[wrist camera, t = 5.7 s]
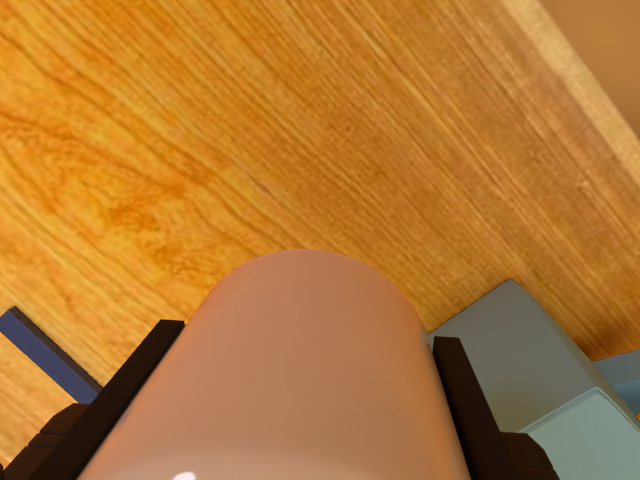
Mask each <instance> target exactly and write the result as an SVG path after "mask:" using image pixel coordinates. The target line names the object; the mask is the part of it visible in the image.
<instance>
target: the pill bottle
mask: <svg viewBox="0 0 640 480" xmlns="http://www.w3.org/2000/svg"><path fill="white" fill-rule="evenodd" d="M76 480H471V477H470V474H469V471H468V468H467V464H466V461H465V458H464V455H463V451H462V448H461V445H460V442H459V438H458V435H457V432H456V429H455V425H454V422H453V419H452V416H451V412H450V409H449V406H448V403H447V399H446V396H445V393H444V390H443V386H442V383H441V380H440V377H439V373H438V370H437V367H436V364H435V360H434V357H433V354H432V351H431V347H430V344H429V341H428V338H427V334H426V331H425V328H424V325H423V323H422V321H421V319H420V317H419V315H418V313H417V312H416V310H415V308H414V306H413V304H412V303H411V302H410V300H409V299H408V298H407V297H406V296H405V294H404V293H403V292H402V291H401V290H400V288H399V287H398V286H397V285H396V284H395V283H393V282H392V281H391V280H389V279H388V278H387V277H386V276H384V275H383V274H382V273H381V272H379V271H378V270H376V269H375V268H373V267H371V266H369V265H367V264H365V263H363V262H361V261H359V260H357V259H355V258H352V257H348V256H345V255H342V254H338V253H335V252H332V251H324V250H314V249H294V250H282V251H277V252H273V253H270V254H266V255H263V256H259V257H256V258H254V259H252V260H250V261H248V262H246V263H244V264H242V265H240V266H238V267H236V268H235V269H233V270H232V271H231V272H230V273H228V274H227V275H226V276H225V277H223V278H222V279H221V280H220V281H218V282H217V283H216V284H215V286H214V287H213V288H212V289H211V291H210V292H209V293H208V294H207V296H206V297H205V298H204V299H203V301H202V302H201V303H200V305H199V306H198V308H197V309H196V310H195V312H194V313H193V315H192V316H191V317H190V319H189V320H188V322H187V323H186V325H185V326H184V327H183V329H182V330H181V332H180V333H179V334H178V336H177V337H176V339H175V340H174V341H173V343H172V344H171V346H170V347H169V349H168V350H167V351H166V353H165V354H164V356H163V357H162V358H161V360H160V361H159V363H158V364H157V366H156V367H155V368H154V370H153V371H152V373H151V374H150V375H149V377H148V378H147V380H146V381H145V382H144V384H143V385H142V387H141V388H140V390H139V391H138V392H137V394H136V395H135V397H134V398H133V399H132V401H131V402H130V404H129V405H128V406H127V408H126V409H125V411H124V412H123V414H122V415H121V416H120V418H119V419H118V421H117V422H116V423H115V425H114V426H113V428H112V429H111V430H110V432H109V433H108V435H107V436H106V438H105V439H104V440H103V442H102V443H101V445H100V446H99V447H98V449H97V450H96V452H95V453H94V454H93V456H92V457H91V459H90V460H89V462H88V463H87V464H86V466H85V467H84V469H83V470H82V471H81V473H80V474H79V476H78V477H77V478H76Z"/></svg>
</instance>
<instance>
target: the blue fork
mask: <svg viewBox="0 0 640 480" xmlns="http://www.w3.org/2000/svg"><path fill="white" fill-rule="evenodd" d="M0 332H1V333H2V334H4V335H5V336H6V337H7V338H8V339H9V340H10V341H11V342H12V343H13V344H15V345H16V346H17V347H18V348H19V349H20V350H21V351H22V352H23V353H24V354H26V355H27V356H28V357H29V358H30V359H31V360H32V361H33V362H34V363H35V364H37V365H38V366H39V367H40V368H41V369H42V370H43V371H44V372H45V373H46V374H48V375H49V376H50V377H51V378H52V379H53V380H54V381H55V382H56V383H57V384H59V385H60V386H61V387H62V388H63V389H64V390H65V391H66V392H67V393H68V394H70V395H71V396H72V397H73V398H74V399H75V400H76V401H77V402H78V403H79V404H91V402H92V401H93V400H94V399H95V398H96V396H97V395H98V394H99V393H100V392H101V390H102V389H103V388H102V387H101V386H100V385H99V384H98V383H97V382H96V381H94V380H93V379H92V378H91V377H90V376H89V375H88V374H87V373H86V372H85V371H84V370H83V369H82V368H80V367H79V366H78V365H77V364H76V363H75V362H74V361H73V360H72V359H71V358H70V357H69V356H68V355H66V354H65V353H64V352H63V351H62V350H61V349H60V348H59V347H58V346H57V345H56V344H55V343H54V342H52V341H51V340H50V339H49V338H48V337H47V336H46V335H45V334H44V333H43V332H42V331H41V330H40V329H38V328H37V327H36V326H35V325H34V324H33V323H32V322H31V321H30V320H29V319H28V318H27V317H26V316H24V315H23V314H22V313H21V312H20V311H19V310H18V309H17V308H16V307H15V306H14V307H12V308H11V309H9V310H8V311H7V312H5V313H4V314H3V315H2V316H1V317H0Z"/></svg>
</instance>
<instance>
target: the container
mask: <svg viewBox="0 0 640 480" xmlns="http://www.w3.org/2000/svg"><path fill="white" fill-rule="evenodd" d="M434 336H444V337H459V338H460V341H461V343H462V345H463V348H464V350H465V352H466V354H467V357H468V359H469V361H470V364H471V366H472V368H473V370H474V373H475V375H476V377H477V380H478V382H479V384H480V386H481V389H482V391H483V393H484V396H485V398H486V400H487V403H488V405H489V407H490V409H491V412H492V414H493V416H494V419H495V421H496V423H497V425H498V428H499V430H500V431H501V432H515V433H527V434H528V435H529V436H530V437H531V438H533V439H534V440H535V441H536V442H537V443H538V444H539V445H540V446H541V447H542V448H543V449H544V450H545V452H546V454H547V456H548V458H549V460H550V462H551V463H552V465H553V470H555V471H556V473H557V475H558V476H559V478H560V480H640V420H639V419H638V418H637V416H636V414H640V349H639V350H636V351H632V352H628V353H624V354H621V355H617V356H613V357H610V358H606V359H602V360H598V361H595V362H591V360H590V359H589V358H588V357H587V356H586V355H585V354H584V352H583V351H582V350H581V349H580V348H579V347H578V345H577V344H576V343H575V342H574V341H573V340H572V339H571V338H570V336H569V335H568V334H567V333H566V332H565V331H564V330H563V329H562V328H561V326H560V325H559V324H558V323H557V322H556V321H555V320H554V319H553V318H552V317H551V315H550V314H549V313H548V312H547V311H546V310H545V309H544V308H543V307H542V306H541V305H540V304H539V303H538V302H537V301H536V300H535V299H534V298H533V297H532V296H531V295H530V294H529V293H528V292H527V291H526V290H525V289H524V288H523V287H521V286H520V285H519V284H518V283H516V282H515V281H513V280H511V279H509V280H508V281H506V282H504V283H503V284H501V285H500V286H498V287H497V288H495V289H494V290H492V291H491V292H489V293H488V294H486V295H485V296H483V297H482V298H480V299H479V300H477V301H476V302H475V303H473V304H472V305H470V306H469V307H467V308H466V309H464V310H463V311H462V312H460V313H459V314H457V315H456V316H454V317H453V318H451V319H450V320H449V321H447V322H446V323H444V324H443V325H441V326H440V327H439V328H437V329H436V330H434V331H433V332H431V333H430V334H429V335H427V338H428V341H429V344H430V347H431V351H432V349H433V340H434Z"/></svg>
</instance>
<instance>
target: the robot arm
mask: <svg viewBox="0 0 640 480" xmlns="http://www.w3.org/2000/svg"><path fill="white" fill-rule="evenodd" d="M184 326H185V324H184V321H178V320H160V321H159V322H158V323H157V324H156V326H155V327H154V328H153V329H152V330H151V332H150V333H149V334H148V335H147V336H146V338H145V339H144V340H143V341H142V342H141V344H140V345H139V346H138V347H137V348H136V350H135V351H134V352H133V353H132V354H131V356H130V357H129V358H128V359H127V360H126V362H125V363H124V364H123V365H122V366H121V368H120V369H119V370H118V371H117V372H116V374H115V375H114V376H113V377H112V378H111V380H110V381H109V382H108V383H107V384H106V386H105V387H104V388H103V389H102V390H101V392H100V393H99V394H98V395H97V396H96V398H95V399H94V400H93V401H92V402H91V404H78V403H73V404H71V405H70V406H68V407H67V408H65V409H63V410H62V411H60V412H59V413H57V414H56V415H54V416H53V417H52V418H51V419H50V420H49V421H48V422H47V424H46V425H45V426H44V427H43V428H42V429H41V430H40V433H39V434H36V436H35V437H34V438H33V439H32V440H31V441H30V442H29V444H28V446H25V448H24V449H23V450H22V451H21V452H20V453H19V454H18V455H17V456H16V457H15V458H14V460H13V461H12V462H11V463H10V464H9V465H8V466H7V467H6V468H5V470H3V466H2V465H1V463H0V480H76V478H77V477H78V476H79V474H80V473H81V471H82V470H83V469H84V467H85V466H86V464H87V463H88V462H89V460H90V459H91V457H92V456H93V454H94V453H95V452H96V450H97V449H98V447H99V446H100V445H101V443H102V442H103V440H104V439H105V438H106V436H107V435H108V433H109V432H110V430H111V429H112V428H113V426H114V425H115V423H116V422H117V421H118V419H119V418H120V416H121V415H122V414H123V412H124V411H125V409H126V408H127V406H128V405H129V404H130V402H131V401H132V399H133V398H134V397H135V395H136V394H137V392H138V391H139V390H140V388H141V387H142V385H143V384H144V382H145V381H146V380H147V378H148V377H149V375H150V374H151V373H152V371H153V370H154V368H155V367H156V366H157V364H158V363H159V361H160V360H161V358H162V357H163V356H164V354H165V353H166V351H167V350H168V349H169V347H170V346H171V344H172V343H173V341H174V340H175V339H176V337H177V336H178V334H179V333H180V332H181V330H182V329H183V327H184ZM432 354H433V357H434V360H435V364H436V367H437V370H438V373H439V377H440V380H441V383H442V386H443V390H444V393H445V396H446V399H447V403H448V406H449V409H450V412H451V416H452V419H453V422H454V425H455V429H456V432H457V435H458V438H459V442H460V445H461V448H462V451H463V455H464V458H465V461H466V464H467V468H468V471H469V474H470V477H471V480H560V478H559V476H558V475H557V473H556V471H555V470H553V465H552V463H551V462H550V460H549V458H548V456H547V454H546V452H545V450H544V449H543V448H542V447H541V446H540V445H539V444H538V443H537V442H536V441H535V440H534V439H533V438H531V437H530V436H529V435H528V434H527V433H515V432H501V431H500V430H499V428H498V425H497V423H496V421H495V419H494V416H493V414H492V412H491V409H490V407H489V405H488V403H487V400H486V398H485V396H484V393H483V391H482V389H481V386H480V384H479V382H478V380H477V377H476V375H475V373H474V370H473V368H472V366H471V364H470V361H469V359H468V357H467V354H466V352H465V350H464V348H463V345H462V343H461V341H460V338H459V337H444V336H434V340H433V349H432Z"/></svg>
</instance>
